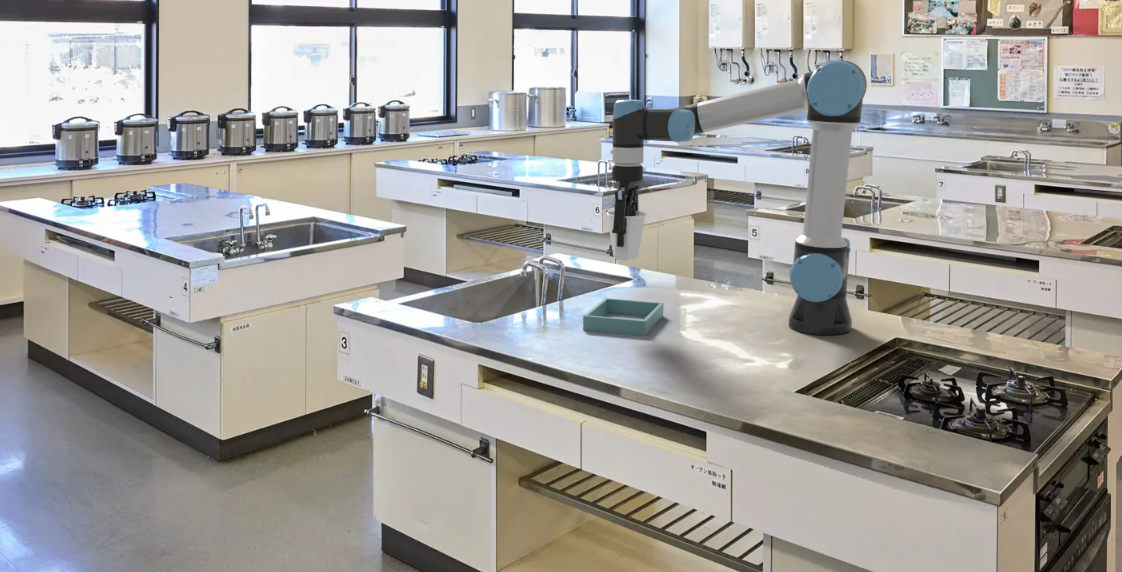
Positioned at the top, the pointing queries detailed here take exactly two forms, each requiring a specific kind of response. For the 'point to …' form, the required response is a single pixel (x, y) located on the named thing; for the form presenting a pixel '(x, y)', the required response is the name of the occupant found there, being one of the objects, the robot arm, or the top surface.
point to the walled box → (619, 325)
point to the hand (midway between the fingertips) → (625, 256)
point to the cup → (629, 232)
